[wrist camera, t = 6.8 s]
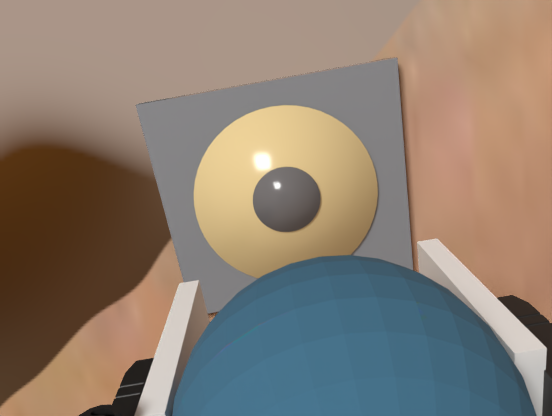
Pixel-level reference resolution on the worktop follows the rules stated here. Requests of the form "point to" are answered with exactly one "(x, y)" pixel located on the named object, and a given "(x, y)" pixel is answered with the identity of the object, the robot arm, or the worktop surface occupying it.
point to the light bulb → (349, 349)
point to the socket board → (281, 174)
